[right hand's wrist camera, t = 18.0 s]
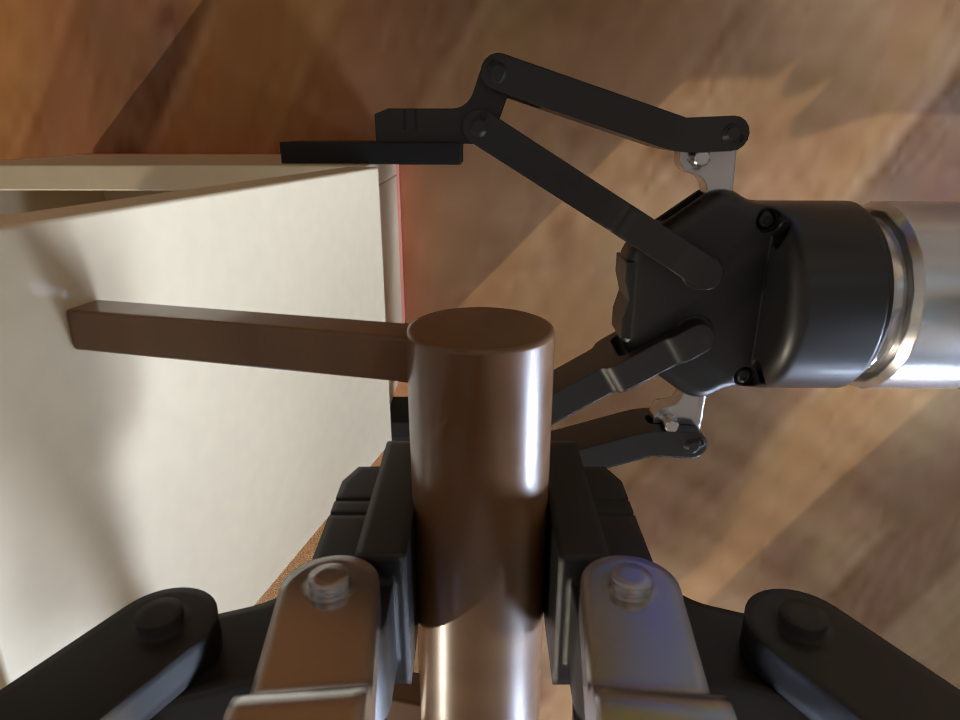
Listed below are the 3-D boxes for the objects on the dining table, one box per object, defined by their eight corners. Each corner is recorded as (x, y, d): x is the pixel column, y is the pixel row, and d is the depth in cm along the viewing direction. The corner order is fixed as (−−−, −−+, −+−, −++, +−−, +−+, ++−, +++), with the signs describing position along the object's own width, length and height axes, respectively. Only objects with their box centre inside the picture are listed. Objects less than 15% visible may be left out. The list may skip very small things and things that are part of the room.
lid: (8, 827, 12) (502, 982, 9) (-200, 243, 8) (516, 286, 6) (366, 438, 26) (595, 465, 24) (348, 166, 22) (615, 171, 20)
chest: (128, 358, 35) (18, 430, 26) (88, 153, 31) (-54, 164, 23) (406, 359, 34) (381, 432, 26) (398, 154, 31) (367, 165, 23)
